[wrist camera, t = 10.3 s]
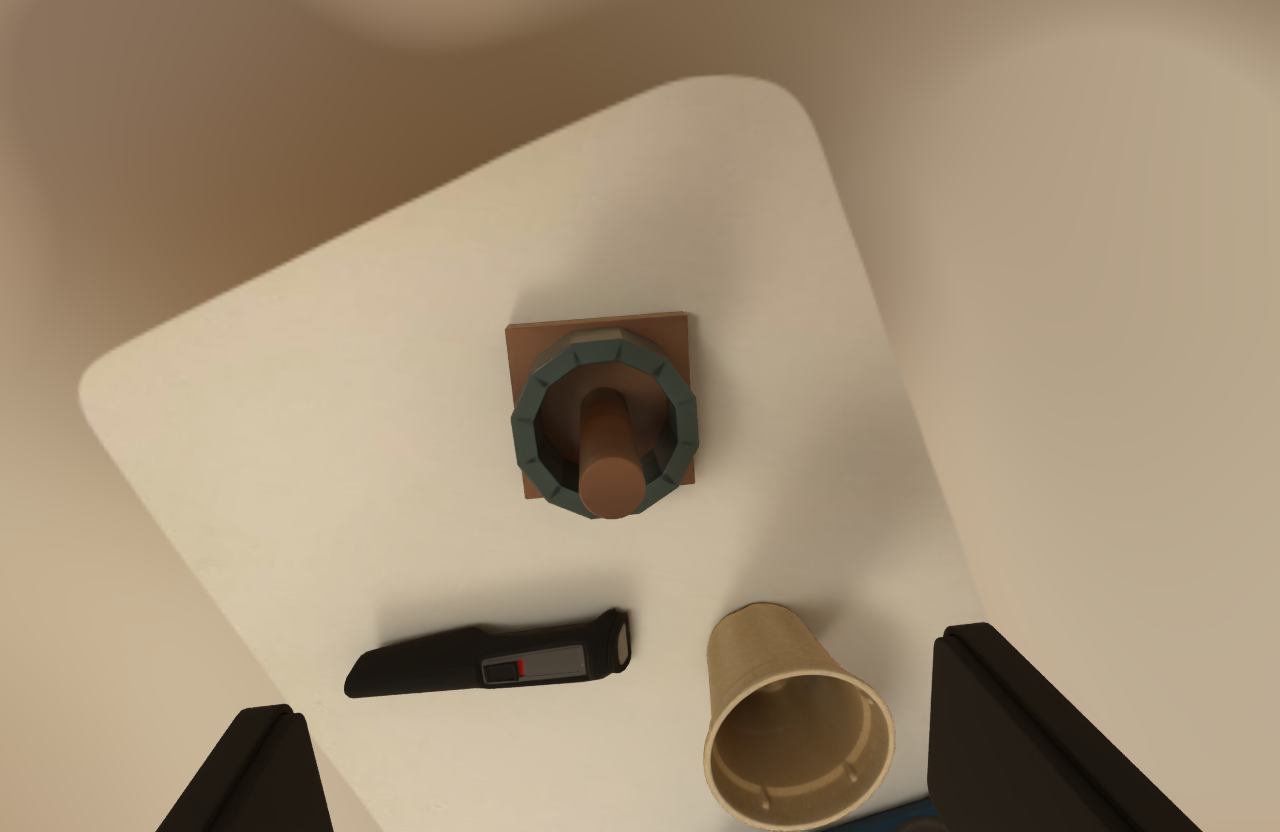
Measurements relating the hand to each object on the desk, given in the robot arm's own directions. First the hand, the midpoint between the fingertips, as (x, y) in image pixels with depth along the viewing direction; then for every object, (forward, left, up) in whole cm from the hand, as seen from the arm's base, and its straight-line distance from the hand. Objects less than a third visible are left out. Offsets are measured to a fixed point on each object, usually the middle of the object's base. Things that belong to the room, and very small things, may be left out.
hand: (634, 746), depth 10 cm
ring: (+2, 0, -26) cm, 26 cm away
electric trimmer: (+16, -7, -27) cm, 32 cm away
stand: (+2, 0, -27) cm, 27 cm away
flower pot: (+18, +8, -27) cm, 33 cm away
